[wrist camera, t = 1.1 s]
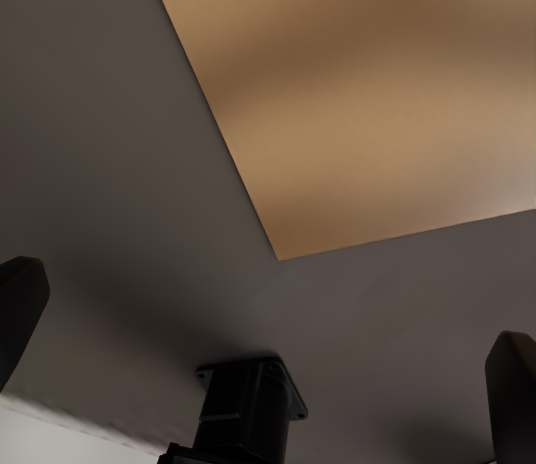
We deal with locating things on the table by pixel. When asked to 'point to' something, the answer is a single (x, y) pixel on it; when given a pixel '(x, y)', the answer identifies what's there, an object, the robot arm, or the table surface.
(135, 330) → the table surface
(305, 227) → the wooden board
